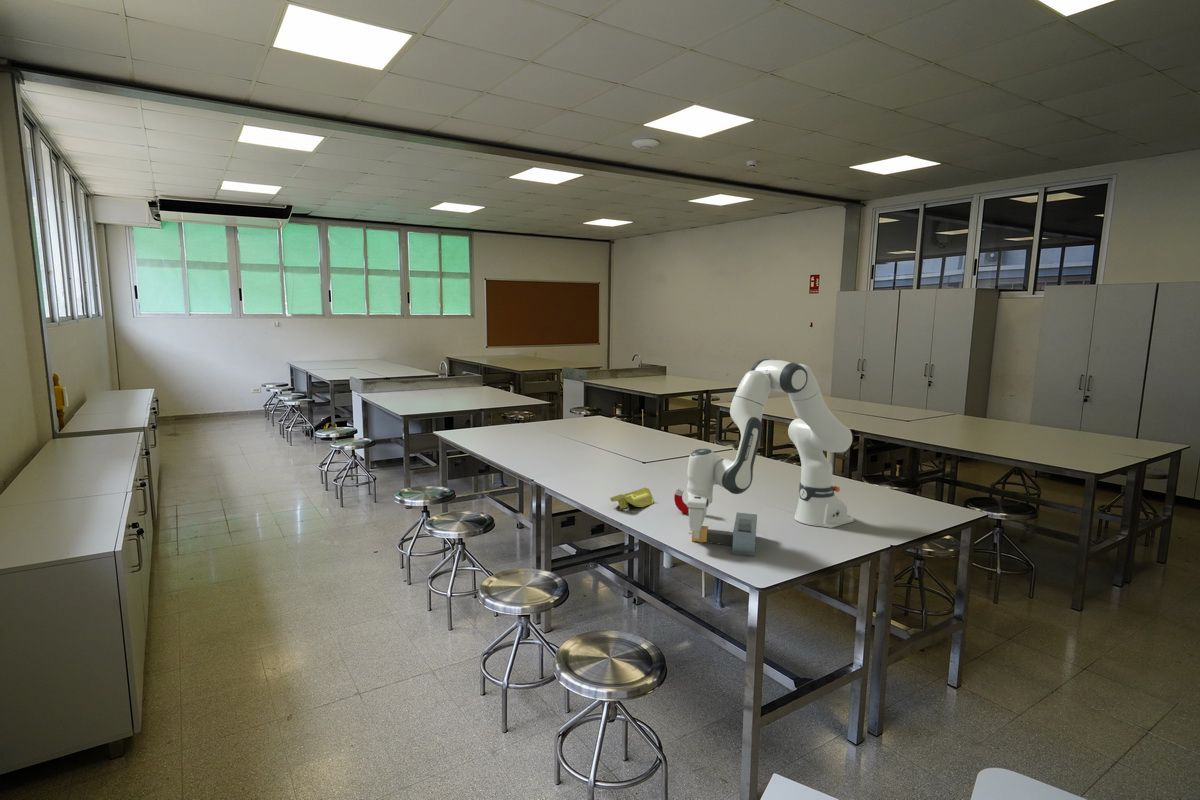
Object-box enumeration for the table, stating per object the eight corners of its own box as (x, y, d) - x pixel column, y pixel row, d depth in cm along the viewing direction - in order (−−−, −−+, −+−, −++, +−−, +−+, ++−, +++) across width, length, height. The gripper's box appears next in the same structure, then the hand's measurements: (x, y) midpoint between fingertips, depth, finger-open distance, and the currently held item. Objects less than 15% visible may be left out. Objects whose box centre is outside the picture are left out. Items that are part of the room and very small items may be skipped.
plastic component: (631, 492, 258) (649, 485, 252) (636, 509, 256) (655, 502, 251) (604, 499, 242) (624, 492, 236) (610, 517, 240) (630, 511, 235)
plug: (751, 543, 206) (752, 531, 205) (751, 548, 202) (752, 535, 201) (689, 536, 212) (690, 524, 211) (688, 540, 208) (688, 528, 207)
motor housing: (756, 536, 213) (757, 507, 212) (754, 557, 194) (755, 526, 193) (735, 534, 215) (737, 505, 214) (732, 554, 196) (733, 523, 195)
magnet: (704, 514, 237) (705, 489, 236) (703, 516, 235) (704, 491, 233) (674, 510, 241) (675, 486, 239) (673, 512, 238) (674, 488, 237)
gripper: (693, 487, 218) (692, 524, 219) (686, 503, 198) (684, 543, 200) (711, 489, 216) (709, 526, 218) (705, 505, 196) (703, 546, 198)
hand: (697, 534), depth 209 cm, fingers closed on plug, 4 cm apart
